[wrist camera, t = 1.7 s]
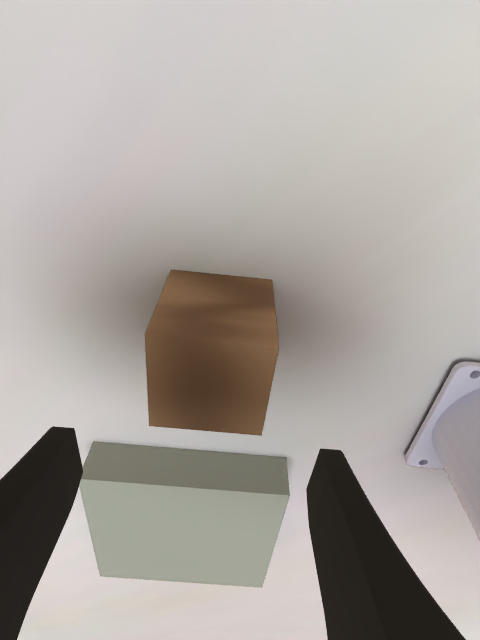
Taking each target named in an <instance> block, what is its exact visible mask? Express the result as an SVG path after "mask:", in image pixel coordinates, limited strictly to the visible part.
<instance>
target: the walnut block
mask: <svg viewBox="0 0 480 640" xmlns="http://www.w3.org/2000/svg"><path fill="white" fill-rule="evenodd" d="M145 346H146V368H147V389H148V411H149V426H156V427H168V428H180V429H191V430H203V431H215V432H227V433H239V434H250V435H262V431H263V426H264V421H265V416H266V411H267V406H268V401H269V395H270V390H271V385H272V380H273V375H274V370H275V365H276V360H277V355H278V350H279V340H278V331H277V322H276V313H275V304H274V295H273V286H272V280H269V279H259V278H249V277H239V276H230V275H220V274H210V273H200V272H190V271H180V270H171V271H170V273H169V276H168V278H167V281H166V283H165V286H164V288H163V291H162V293H161V296H160V298H159V300H158V303H157V305H156V308H155V310H154V313H153V315H152V318H151V320H150V323H149V325H148V328H147V330H146V333H145Z"/></svg>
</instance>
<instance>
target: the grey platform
mask: <svg viewBox="0 0 480 640" xmlns="http://www.w3.org/2000/svg"><path fill="white" fill-rule="evenodd" d="M79 487H80V491H81V495H82V500H83V504H84V508H85V513H86V517H87V521H88V526H89V530H90V535H91V539H92V543H93V548H94V552H95V556H96V561H97V565H98V569H99V574H100V576H102V577H116V578H131V579H145V580H159V581H174V582H188V583H203V584H217V585H232V586H246V587H261V588H262V586H263V583H264V579H265V576H266V573H267V570H268V566H269V563H270V560H271V556H272V553H273V550H274V546H275V543H276V540H277V536H278V533H279V530H280V526H281V523H282V520H283V516H284V513H285V510H286V507H287V503H288V500H289V497H290V492H289V482H288V471H287V461H286V458H285V457H273V456H261V455H249V454H237V453H225V452H213V451H201V450H189V449H177V448H165V447H153V446H141V445H129V444H117V443H105V442H93V444H92V446H91V449H90V451H89V453H88V456H87V458H86V460H85V463H84V465H83V474H82V478H81V481H80V484H79Z"/></svg>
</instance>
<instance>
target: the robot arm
mask: <svg viewBox="0 0 480 640" xmlns="http://www.w3.org/2000/svg"><path fill="white" fill-rule="evenodd" d="M473 371H475V372H473ZM472 372H473V373H472ZM405 460H406V463H407V464H408V465H409V466H415V467H427V468H439V469H445V471H446V473H447V475H448V477H449V479H450V481H451V483H452V485H453V487H454V489H455V491H456V493H457V496H458V498H459V500H460V502H461V504H462V506H463V508H464V510H465V512H466V514H467V516H468V518H469V520H470V522H471V524H472V526H473V528H474V530H475V532H476V534H477V536H478V538H479V540H480V363H477V362H460V363H458V364H456V365H455V366H454V367H453V368H452V370H451V372H450V374H449V376H448V378H447V380H446V381H445V383H444V385H443V387H442V389H441V391H440V392H439V394H438V396H437V398H436V400H435V402H434V403H433V405H432V407H431V409H430V411H429V413H428V415H427V416H426V418H425V420H424V422H423V424H422V426H421V427H420V429H419V431H418V433H417V435H416V437H415V439H414V440H413V442H412V444H411V446H410V448H409V450H408V451H407V453H406V455H405ZM82 474H83V468H82V463H81V458H80V454H79V449H78V444H77V439H76V434H75V430H74V428H64V427H52V428H50V429H49V430H48V431H47V432H46V433H45V434H44V435H43V436H42V438H41V439H40V440H39V441H38V442H37V443H36V444H35V445H34V446H33V447H32V448H31V449H30V450H29V451H28V452H27V453H26V454H25V455H24V456H23V457H22V458H21V459H20V461H19V462H18V463H17V464H16V465H15V466H14V467H13V468H12V469H11V470H10V471H9V472H8V473H7V474H6V475H5V476H4V477H3V478H2V479H1V480H0V640H17V638H18V635H19V632H20V629H21V626H22V623H23V621H24V618H25V615H26V612H27V610H28V607H29V605H30V602H31V600H32V597H33V595H34V592H35V590H36V588H37V586H38V583H39V581H40V579H41V577H42V574H43V572H44V570H45V568H46V565H47V563H48V561H49V559H50V557H51V554H52V552H53V550H54V548H55V545H56V543H57V541H58V539H59V536H60V534H61V532H62V529H63V527H64V525H65V523H66V520H67V518H68V516H69V513H70V511H71V509H72V506H73V503H74V500H75V497H76V494H77V491H78V487H79V484H80V481H81V478H82ZM307 505H308V519H309V528H310V534H311V540H312V546H313V552H314V557H315V563H316V569H317V574H318V580H319V585H320V591H321V597H322V602H323V608H324V614H325V621H326V628H327V636H328V640H466V639H465V638H464V637H463V636H462V635H461V633H460V632H459V631H458V629H457V628H456V627H455V626H454V624H453V623H452V622H451V621H450V619H449V618H448V617H447V615H446V614H445V613H444V612H443V610H442V609H441V608H440V606H439V605H438V604H437V602H436V601H435V600H434V598H433V597H432V596H431V594H430V593H429V592H428V590H427V589H426V588H425V586H424V585H423V584H422V582H421V581H420V579H419V578H418V577H417V575H416V574H415V572H414V571H413V569H412V568H411V566H410V565H409V564H408V562H407V561H406V559H405V558H404V556H403V555H402V553H401V552H400V550H399V549H398V547H397V546H396V544H395V542H394V541H393V539H392V538H391V536H390V535H389V533H388V532H387V530H386V528H385V527H384V525H383V523H382V522H381V520H380V518H379V517H378V515H377V513H376V512H375V510H374V509H373V507H372V505H371V503H370V502H369V500H368V498H367V497H366V495H365V493H364V491H363V489H362V488H361V486H360V484H359V482H358V480H357V479H356V477H355V475H354V473H353V471H352V469H351V467H350V465H349V464H348V462H347V460H346V458H345V456H344V454H343V452H342V451H341V450H331V449H320V451H319V454H318V457H317V460H316V463H315V466H314V469H313V472H312V474H311V477H310V480H309V483H308V486H307Z"/></svg>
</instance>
